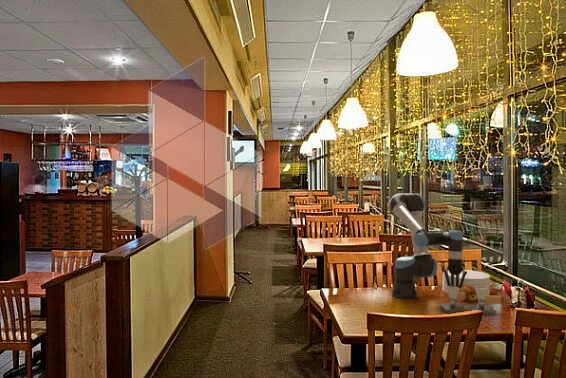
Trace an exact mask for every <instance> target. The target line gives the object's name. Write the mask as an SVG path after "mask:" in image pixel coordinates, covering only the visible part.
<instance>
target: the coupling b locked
mask: <svg viewBox="0 0 566 378" xmlns="http://www.w3.org/2000/svg"><path fill="white" fill-rule="evenodd" d="M476 293H477V300H481V301H484V305H488V304H491V305H492V304H493V305H501V304H502V296H501V295H487V288H485V287H476ZM477 300H476V301H477Z"/></svg>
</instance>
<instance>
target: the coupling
mask: <svg viewBox="0 0 566 378" xmlns="http://www.w3.org/2000/svg"><path fill="white" fill-rule="evenodd" d="M448 293H449V294H448ZM446 294H448V300H450V299H451V300H456V303H458V302H463V301H465V293H464V292H460V293H459V287H456V286H448V287H447V293H446Z"/></svg>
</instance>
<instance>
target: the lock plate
mask: <svg viewBox="0 0 566 378" xmlns="http://www.w3.org/2000/svg"><path fill="white" fill-rule="evenodd" d="M439 308H440V309H441V310H442V312H443V313H444V314H454V313H456V312H464V311H472V310H481V311H483V312H484V314H483V315H487V316H488V315H490V316H491V315H492V316H493V315H494V316H497V315H496V314H497V311H496V310H495V309H494V306H490V305H488V304H485V303H484V301H481V300H478V301H477V304H476V303H475V304H473V303H471V304H469V303H467V304H466V303H457V302H456V300H451V299H449V303H439Z"/></svg>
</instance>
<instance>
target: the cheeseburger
mask: <svg viewBox="0 0 566 378" xmlns="http://www.w3.org/2000/svg"><path fill="white" fill-rule="evenodd" d="M460 292H464V293H465V300H464V302H465V301H466V302H475V301H477V293H476V290H475V288H474V287H473V286H472V285H463V286H462V288H460V290H459V293H460Z"/></svg>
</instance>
